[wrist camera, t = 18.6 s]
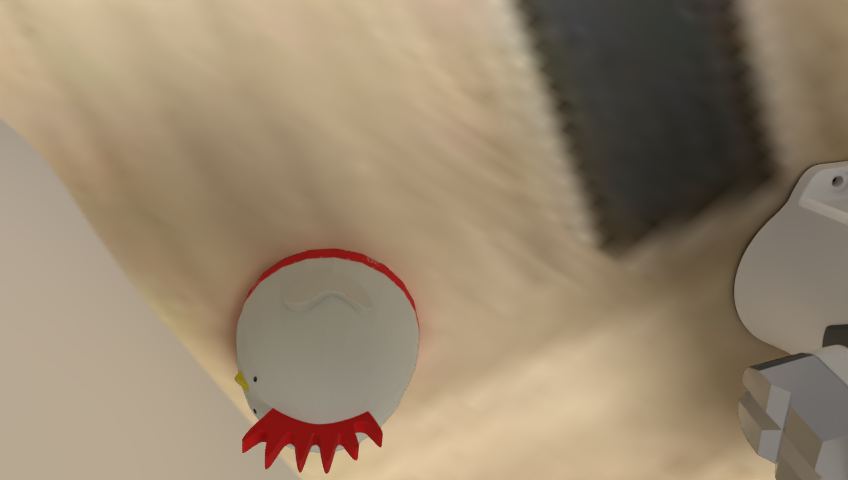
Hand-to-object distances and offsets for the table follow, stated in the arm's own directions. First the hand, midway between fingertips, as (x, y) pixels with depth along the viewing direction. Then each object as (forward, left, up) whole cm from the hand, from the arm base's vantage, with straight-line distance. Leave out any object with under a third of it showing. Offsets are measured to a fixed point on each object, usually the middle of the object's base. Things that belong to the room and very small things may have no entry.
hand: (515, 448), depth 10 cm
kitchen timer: (+11, +15, -34) cm, 39 cm away
